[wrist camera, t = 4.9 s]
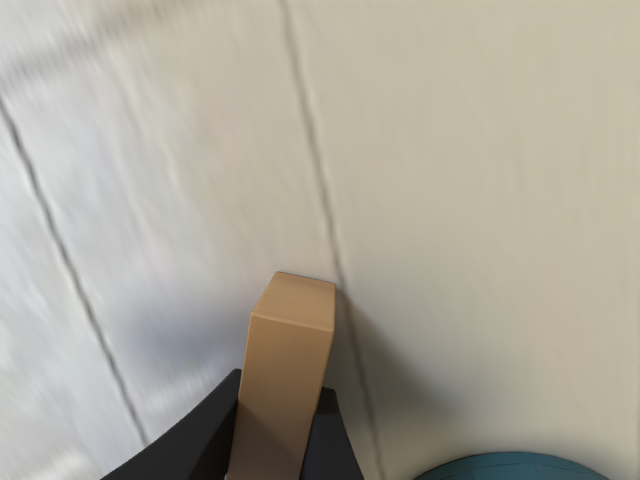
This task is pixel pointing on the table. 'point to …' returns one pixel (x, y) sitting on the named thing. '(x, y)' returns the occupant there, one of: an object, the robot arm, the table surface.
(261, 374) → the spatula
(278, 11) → the table surface
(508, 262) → the table surface
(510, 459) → the pot
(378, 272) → the table surface
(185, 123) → the table surface
